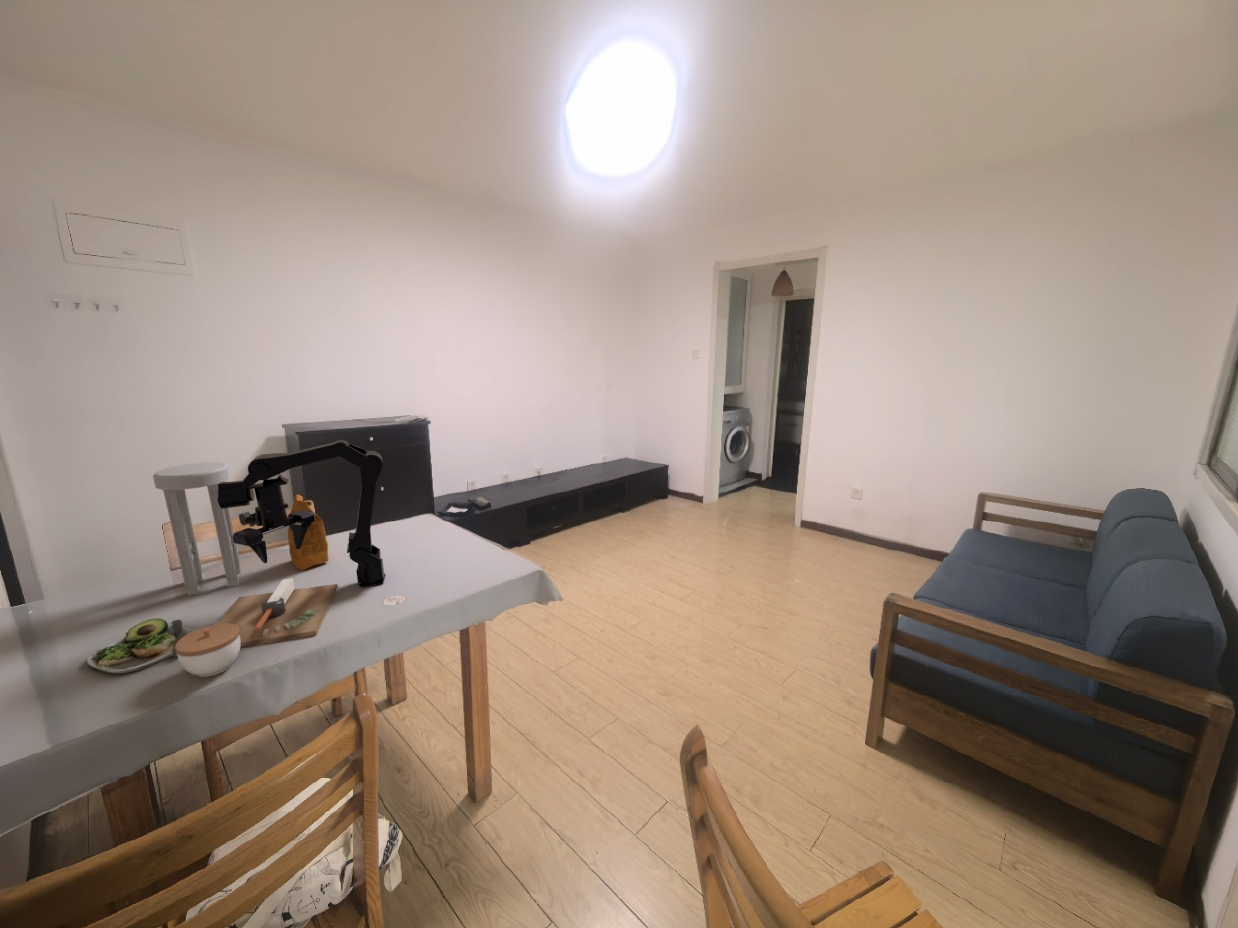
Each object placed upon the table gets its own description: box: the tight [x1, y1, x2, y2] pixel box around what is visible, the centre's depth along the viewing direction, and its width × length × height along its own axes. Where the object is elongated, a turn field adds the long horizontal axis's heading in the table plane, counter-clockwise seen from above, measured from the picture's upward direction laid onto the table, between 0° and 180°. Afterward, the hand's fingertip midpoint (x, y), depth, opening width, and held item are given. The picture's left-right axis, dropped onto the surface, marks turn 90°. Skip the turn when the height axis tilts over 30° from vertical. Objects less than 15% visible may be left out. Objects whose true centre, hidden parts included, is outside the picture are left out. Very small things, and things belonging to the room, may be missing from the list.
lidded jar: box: [175, 623, 242, 678], centre depth 105 cm, size 11×11×9 cm
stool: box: [152, 462, 242, 596], centre depth 139 cm, size 16×16×35 cm
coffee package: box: [287, 493, 330, 571], centre depth 155 cm, size 10×12×22 cm
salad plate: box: [85, 618, 195, 674], centre depth 111 cm, size 19×18×5 cm
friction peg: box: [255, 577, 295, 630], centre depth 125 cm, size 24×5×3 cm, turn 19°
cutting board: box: [216, 583, 339, 648], centre depth 126 cm, size 24×25×2 cm
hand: (282, 555), depth 133 cm, fingers open, 9 cm apart
